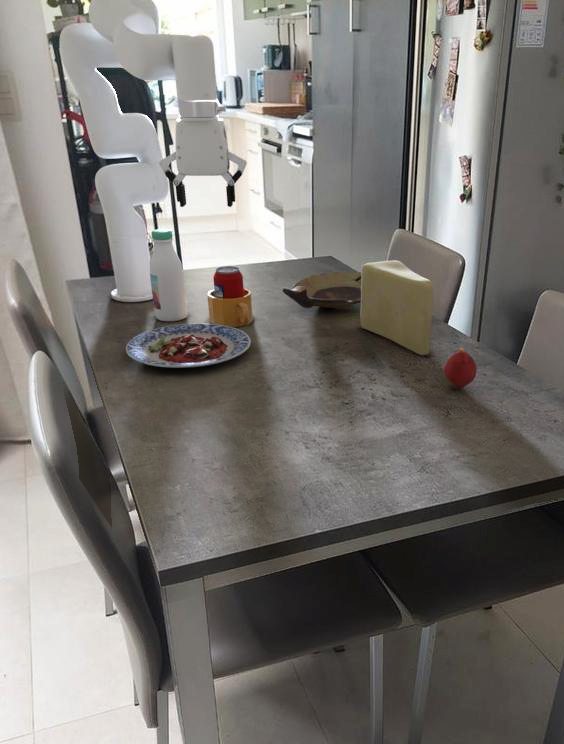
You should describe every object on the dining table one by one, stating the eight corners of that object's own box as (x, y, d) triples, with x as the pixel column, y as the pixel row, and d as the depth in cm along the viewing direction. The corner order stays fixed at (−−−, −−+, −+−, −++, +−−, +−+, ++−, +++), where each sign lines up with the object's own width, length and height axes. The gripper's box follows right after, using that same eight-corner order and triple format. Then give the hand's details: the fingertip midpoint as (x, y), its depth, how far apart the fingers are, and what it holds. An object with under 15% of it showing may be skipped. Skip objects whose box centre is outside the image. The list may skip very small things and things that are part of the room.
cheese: (446, 352, 147) (452, 281, 139) (406, 359, 143) (410, 287, 135) (395, 322, 164) (398, 257, 156) (358, 327, 160) (360, 261, 153)
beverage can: (217, 316, 168) (213, 265, 162) (246, 315, 168) (242, 265, 162) (216, 325, 162) (211, 273, 156) (245, 324, 163) (241, 272, 156)
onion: (476, 384, 132) (481, 344, 128) (471, 396, 128) (476, 355, 124) (446, 380, 134) (449, 341, 130) (440, 392, 129) (443, 351, 125)
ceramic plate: (273, 342, 152) (272, 329, 150) (207, 385, 132) (205, 370, 131) (176, 326, 161) (174, 314, 160) (100, 364, 141) (98, 350, 140)
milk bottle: (191, 312, 170) (182, 227, 160) (183, 322, 164) (173, 234, 153) (161, 311, 171) (150, 226, 161) (151, 321, 164) (139, 233, 154)
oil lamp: (401, 308, 173) (402, 277, 169) (292, 326, 162) (291, 293, 158) (357, 286, 190) (358, 257, 186) (256, 300, 179) (254, 270, 175)
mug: (203, 318, 167) (200, 291, 163) (240, 311, 171) (239, 284, 168) (228, 334, 157) (226, 305, 154) (267, 326, 162) (265, 298, 158)
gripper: (245, 110, 137) (250, 202, 146) (157, 110, 137) (168, 202, 145) (241, 112, 130) (247, 209, 139) (149, 112, 130) (160, 209, 139)
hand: (206, 205), depth 142 cm, fingers open, 9 cm apart
